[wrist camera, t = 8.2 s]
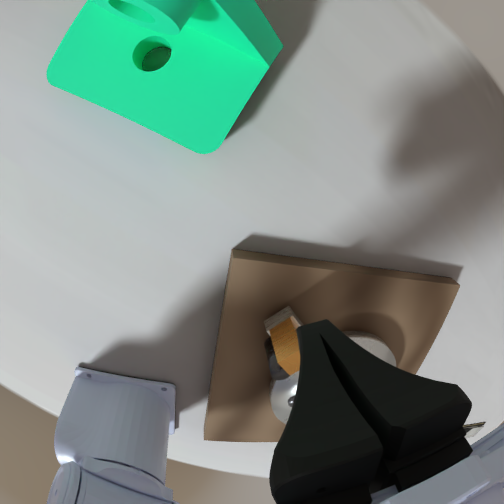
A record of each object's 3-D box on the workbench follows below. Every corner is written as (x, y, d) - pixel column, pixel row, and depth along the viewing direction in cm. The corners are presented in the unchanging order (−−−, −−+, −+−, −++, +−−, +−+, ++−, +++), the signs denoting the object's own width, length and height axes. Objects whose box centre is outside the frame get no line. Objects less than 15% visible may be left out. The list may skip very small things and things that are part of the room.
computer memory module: (486, 424, 40) (473, 437, 41) (484, 420, 41) (471, 434, 42) (452, 429, 36) (437, 444, 37) (450, 425, 37) (434, 440, 38)
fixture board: (203, 428, 28) (203, 440, 26) (231, 248, 21) (233, 257, 19) (372, 423, 31) (376, 432, 30) (450, 277, 24) (460, 285, 23)
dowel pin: (262, 350, 22) (269, 380, 19) (266, 335, 22) (273, 365, 19) (280, 351, 23) (288, 380, 20) (284, 336, 22) (294, 365, 19)
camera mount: (60, 84, 15) (-43, 68, 6) (118, -11, 13) (57, -86, 4) (212, 156, 18) (207, 184, 9) (275, 56, 16) (331, -7, 7)
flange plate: (401, 374, 26) (422, 408, 21) (305, 430, 27) (316, 467, 23) (343, 265, 20) (373, 302, 16) (211, 349, 22) (212, 397, 17)
